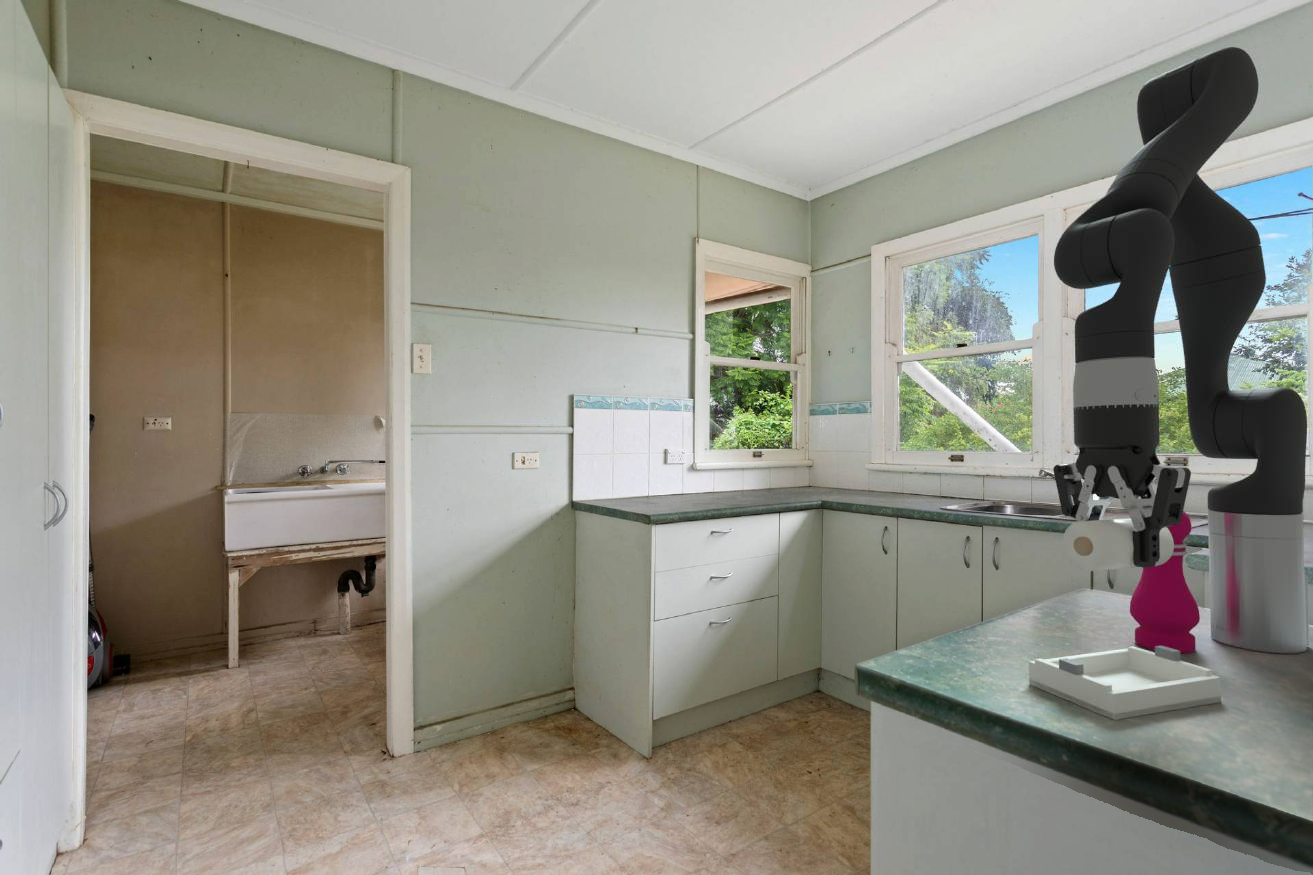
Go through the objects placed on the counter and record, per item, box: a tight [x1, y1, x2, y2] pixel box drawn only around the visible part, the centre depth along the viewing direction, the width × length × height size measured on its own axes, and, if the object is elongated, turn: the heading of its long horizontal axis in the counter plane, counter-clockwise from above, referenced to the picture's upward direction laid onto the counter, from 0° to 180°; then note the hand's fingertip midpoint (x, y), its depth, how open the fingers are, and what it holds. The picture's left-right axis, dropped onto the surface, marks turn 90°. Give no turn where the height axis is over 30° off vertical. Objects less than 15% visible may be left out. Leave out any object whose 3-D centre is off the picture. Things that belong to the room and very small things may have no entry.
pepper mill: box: [1129, 493, 1201, 654], centre depth 85 cm, size 7×7×20 cm
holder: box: [1028, 645, 1222, 721], centre depth 70 cm, size 14×10×4 cm
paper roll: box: [1062, 517, 1174, 572], centre depth 70 cm, size 10×5×5 cm, turn 106°
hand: (1117, 561), depth 70 cm, fingers closed on paper roll, 5 cm apart
